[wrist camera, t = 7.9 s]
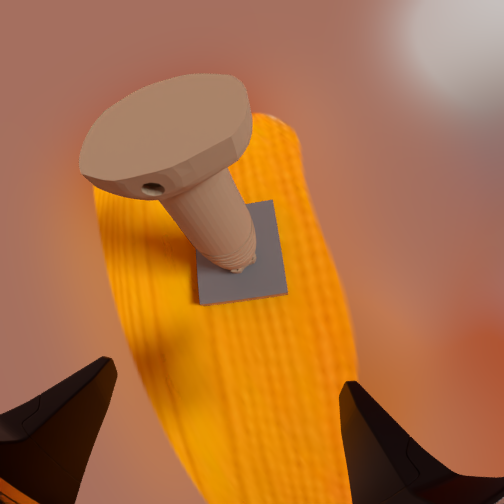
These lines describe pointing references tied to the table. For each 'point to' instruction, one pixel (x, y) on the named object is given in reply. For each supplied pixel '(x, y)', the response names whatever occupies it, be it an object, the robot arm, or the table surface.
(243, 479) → the table surface
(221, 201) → the handle
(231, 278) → the plate
